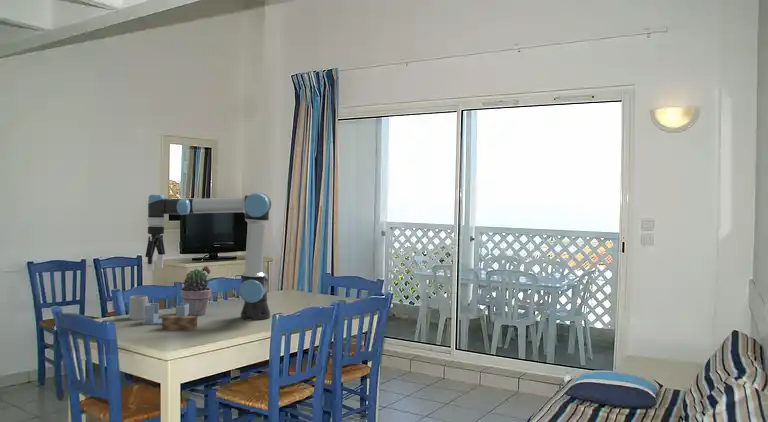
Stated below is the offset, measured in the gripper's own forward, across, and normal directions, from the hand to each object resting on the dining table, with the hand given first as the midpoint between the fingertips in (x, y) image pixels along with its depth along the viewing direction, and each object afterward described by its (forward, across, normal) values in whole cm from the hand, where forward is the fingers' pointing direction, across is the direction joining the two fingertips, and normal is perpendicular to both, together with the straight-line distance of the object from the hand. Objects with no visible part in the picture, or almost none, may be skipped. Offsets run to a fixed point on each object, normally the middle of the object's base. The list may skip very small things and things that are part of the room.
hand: (155, 269), depth 306 cm
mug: (+26, -9, -10) cm, 30 cm away
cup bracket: (+26, +2, +7) cm, 27 cm away
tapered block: (+26, +15, +17) cm, 35 cm away
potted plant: (+26, -21, +14) cm, 36 cm away
